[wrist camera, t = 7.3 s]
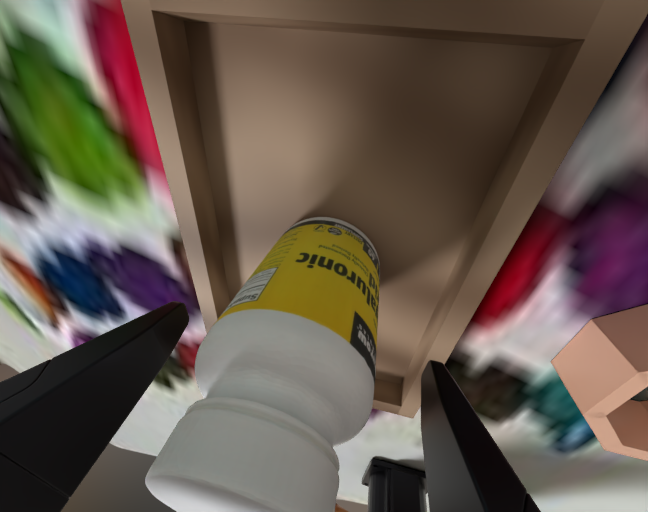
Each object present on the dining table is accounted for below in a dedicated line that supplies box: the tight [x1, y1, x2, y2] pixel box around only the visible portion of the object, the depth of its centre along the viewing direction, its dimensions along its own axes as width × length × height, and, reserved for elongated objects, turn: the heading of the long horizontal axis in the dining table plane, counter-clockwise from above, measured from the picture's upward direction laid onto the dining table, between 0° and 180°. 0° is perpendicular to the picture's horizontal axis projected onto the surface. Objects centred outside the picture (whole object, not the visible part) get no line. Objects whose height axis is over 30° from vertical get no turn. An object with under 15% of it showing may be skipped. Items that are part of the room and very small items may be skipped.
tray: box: [121, 0, 648, 418], centre depth 13 cm, size 20×14×2 cm
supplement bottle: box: [145, 217, 380, 512], centre depth 9 cm, size 5×5×10 cm
